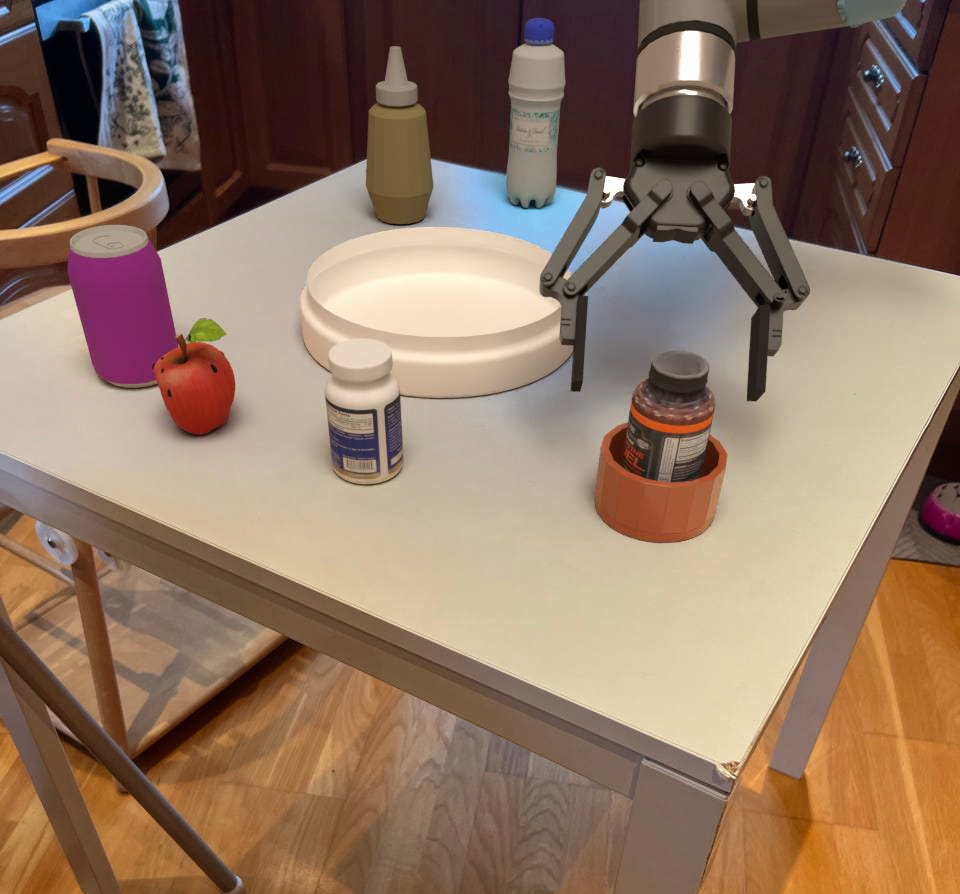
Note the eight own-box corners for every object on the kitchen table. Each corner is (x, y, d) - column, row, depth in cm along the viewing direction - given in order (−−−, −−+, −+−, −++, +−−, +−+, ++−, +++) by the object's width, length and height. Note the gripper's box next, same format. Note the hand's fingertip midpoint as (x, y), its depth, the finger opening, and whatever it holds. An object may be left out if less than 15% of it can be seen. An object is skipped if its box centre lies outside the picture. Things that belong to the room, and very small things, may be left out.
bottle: (497, 207, 121) (503, 21, 107) (511, 190, 126) (519, 9, 112) (549, 214, 120) (562, 26, 106) (561, 196, 124) (576, 14, 111)
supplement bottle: (603, 483, 76) (622, 348, 68) (671, 470, 77) (696, 336, 70) (639, 527, 72) (662, 388, 64) (709, 512, 73) (740, 375, 65)
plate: (470, 256, 110) (471, 206, 106) (633, 348, 94) (641, 294, 90) (254, 313, 98) (246, 259, 94) (400, 430, 82) (398, 371, 78)
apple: (146, 442, 80) (118, 327, 73) (180, 401, 85) (156, 290, 78) (235, 453, 79) (215, 337, 72) (264, 411, 84) (248, 299, 77)
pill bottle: (378, 440, 81) (372, 327, 74) (417, 471, 78) (414, 356, 71) (318, 462, 78) (306, 347, 71) (356, 495, 75) (347, 378, 68)
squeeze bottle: (443, 225, 116) (442, 53, 104) (378, 232, 114) (370, 59, 102) (421, 202, 122) (418, 37, 109) (359, 209, 119) (349, 41, 107)
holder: (718, 483, 78) (730, 428, 74) (709, 551, 71) (722, 495, 68) (604, 465, 79) (611, 411, 76) (585, 531, 72) (592, 474, 69)
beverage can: (199, 373, 88) (174, 240, 80) (123, 401, 84) (88, 264, 76) (155, 344, 92) (126, 214, 84) (80, 369, 88) (42, 236, 80)
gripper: (829, 152, 78) (815, 413, 77) (519, 137, 78) (502, 396, 78) (863, 96, 70) (848, 386, 70) (520, 81, 71) (502, 367, 70)
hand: (665, 392), depth 74 cm, fingers open, 13 cm apart
